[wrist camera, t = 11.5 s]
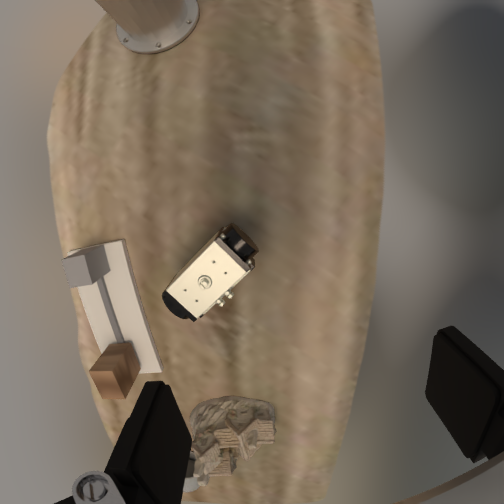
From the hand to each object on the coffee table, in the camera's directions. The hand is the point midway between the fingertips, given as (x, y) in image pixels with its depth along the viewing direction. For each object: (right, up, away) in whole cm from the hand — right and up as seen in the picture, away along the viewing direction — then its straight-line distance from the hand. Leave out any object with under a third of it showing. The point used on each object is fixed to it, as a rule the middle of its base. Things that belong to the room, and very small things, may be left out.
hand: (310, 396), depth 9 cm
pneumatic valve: (-7, +4, +33) cm, 34 cm away
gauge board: (-23, -5, +35) cm, 43 cm away
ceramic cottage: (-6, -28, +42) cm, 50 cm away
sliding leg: (-23, -12, +35) cm, 44 cm away
